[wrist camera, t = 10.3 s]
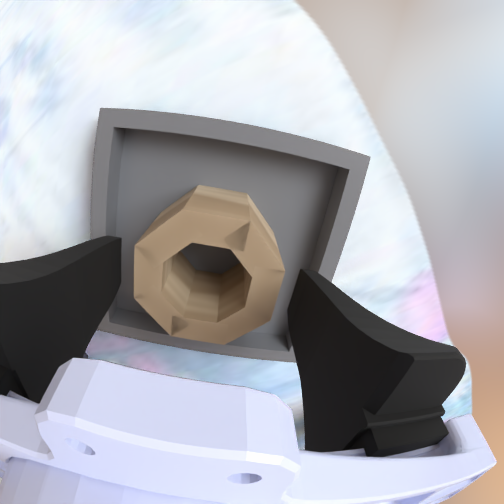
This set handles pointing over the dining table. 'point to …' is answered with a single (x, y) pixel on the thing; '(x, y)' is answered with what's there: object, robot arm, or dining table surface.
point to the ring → (207, 283)
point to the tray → (230, 178)
